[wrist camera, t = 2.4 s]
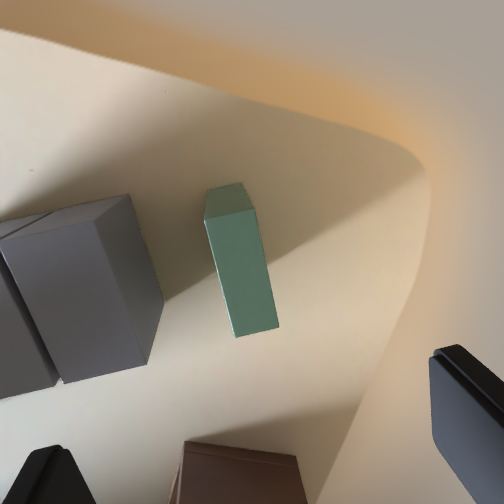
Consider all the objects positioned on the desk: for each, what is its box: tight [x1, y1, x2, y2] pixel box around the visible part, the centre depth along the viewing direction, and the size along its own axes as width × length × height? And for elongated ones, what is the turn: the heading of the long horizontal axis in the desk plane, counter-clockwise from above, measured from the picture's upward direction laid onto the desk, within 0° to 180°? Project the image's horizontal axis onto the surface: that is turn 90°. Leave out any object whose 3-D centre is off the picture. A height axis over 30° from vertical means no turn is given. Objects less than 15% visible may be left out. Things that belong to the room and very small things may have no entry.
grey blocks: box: [0, 194, 164, 399], centre depth 24 cm, size 10×9×8 cm
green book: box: [204, 183, 279, 338], centre depth 23 cm, size 3×7×9 cm, turn 12°
